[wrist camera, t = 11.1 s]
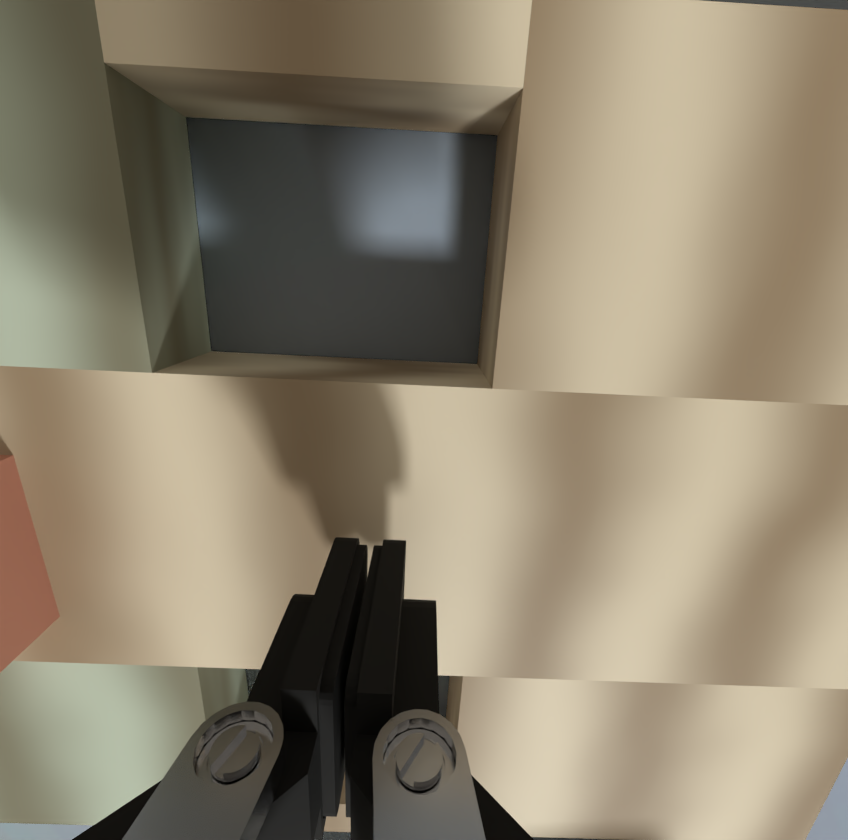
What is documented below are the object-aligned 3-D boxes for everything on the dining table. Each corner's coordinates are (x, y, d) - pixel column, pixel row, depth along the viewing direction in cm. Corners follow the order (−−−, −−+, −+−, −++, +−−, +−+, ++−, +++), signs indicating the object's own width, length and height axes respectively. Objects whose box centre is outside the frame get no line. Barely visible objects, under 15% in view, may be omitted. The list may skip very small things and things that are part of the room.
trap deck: (1013, 96, 11) (1463, -39, 6) (744, 757, 19) (855, 922, 14) (-371, 12, 10) (-1043, -210, 6) (-62, 732, 18) (-235, 896, 13)
